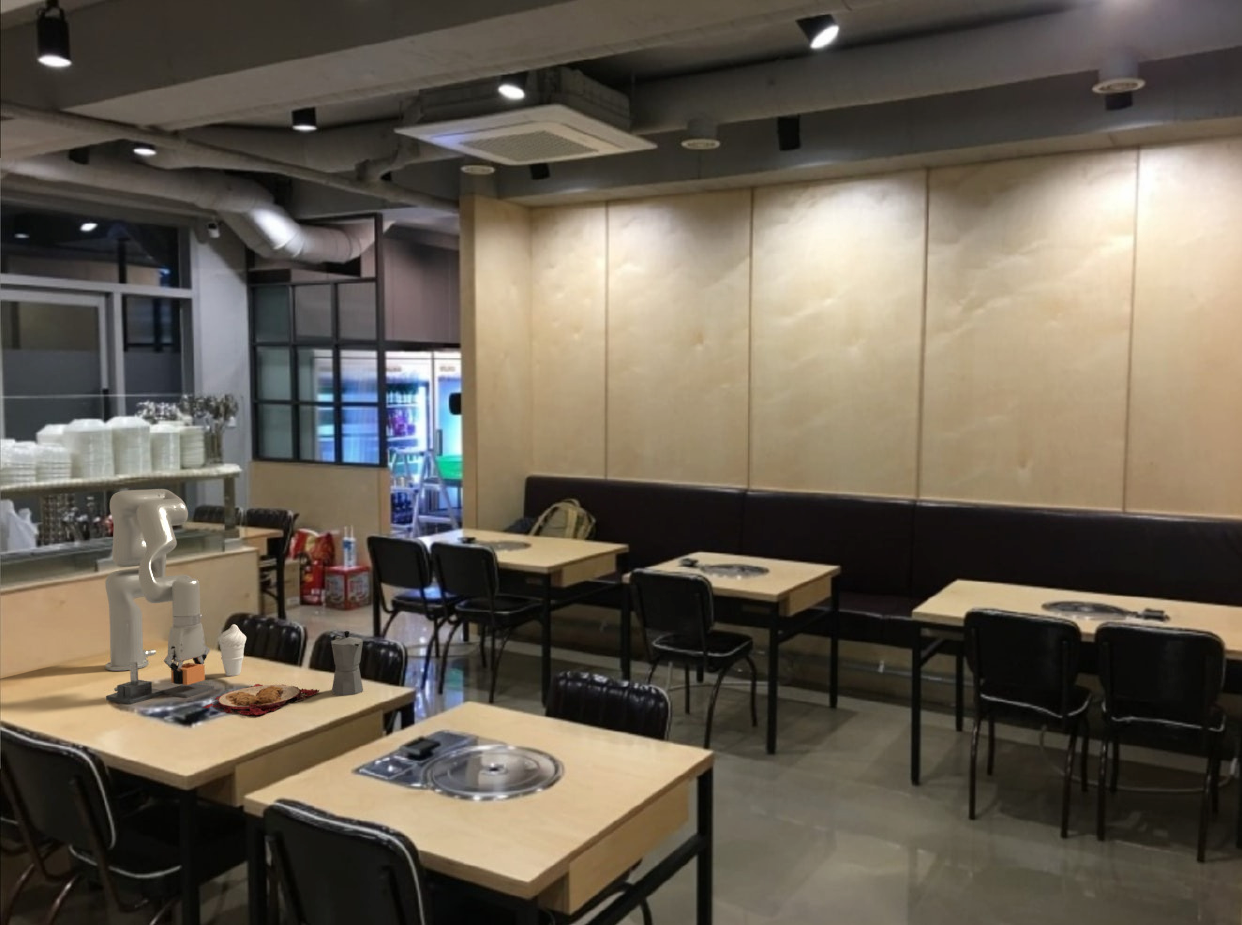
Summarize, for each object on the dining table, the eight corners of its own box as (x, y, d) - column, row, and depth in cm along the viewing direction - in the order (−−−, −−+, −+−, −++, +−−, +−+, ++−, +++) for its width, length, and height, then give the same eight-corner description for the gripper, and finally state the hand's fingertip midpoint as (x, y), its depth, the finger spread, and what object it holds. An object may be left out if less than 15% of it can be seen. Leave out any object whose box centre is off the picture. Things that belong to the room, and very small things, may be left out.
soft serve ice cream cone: (212, 676, 312) (211, 625, 312) (230, 670, 320) (229, 620, 320) (235, 678, 310) (234, 627, 309) (252, 672, 318) (251, 622, 317)
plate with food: (320, 696, 293) (320, 684, 293) (258, 718, 270) (258, 705, 270) (257, 689, 302) (257, 677, 302) (191, 710, 279) (191, 697, 279)
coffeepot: (373, 692, 294) (372, 632, 293) (344, 699, 287) (343, 637, 287) (347, 682, 305) (346, 624, 304) (318, 688, 298) (317, 628, 298)
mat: (189, 685, 302) (189, 682, 302) (213, 688, 298) (213, 686, 298) (161, 693, 293) (161, 690, 293) (186, 697, 289) (186, 694, 289)
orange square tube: (189, 677, 300) (188, 662, 300) (204, 679, 297) (204, 664, 297) (171, 682, 294) (171, 667, 294) (187, 685, 291) (186, 669, 291)
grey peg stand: (138, 690, 297) (138, 657, 296) (162, 694, 292) (162, 660, 292) (106, 699, 287) (105, 665, 286) (130, 704, 282) (129, 669, 282)
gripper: (200, 614, 304) (202, 672, 305) (152, 625, 288) (154, 686, 289) (219, 616, 301) (220, 675, 302) (171, 627, 285) (172, 689, 286)
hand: (188, 680), depth 296 cm, fingers closed on orange square tube, 6 cm apart
